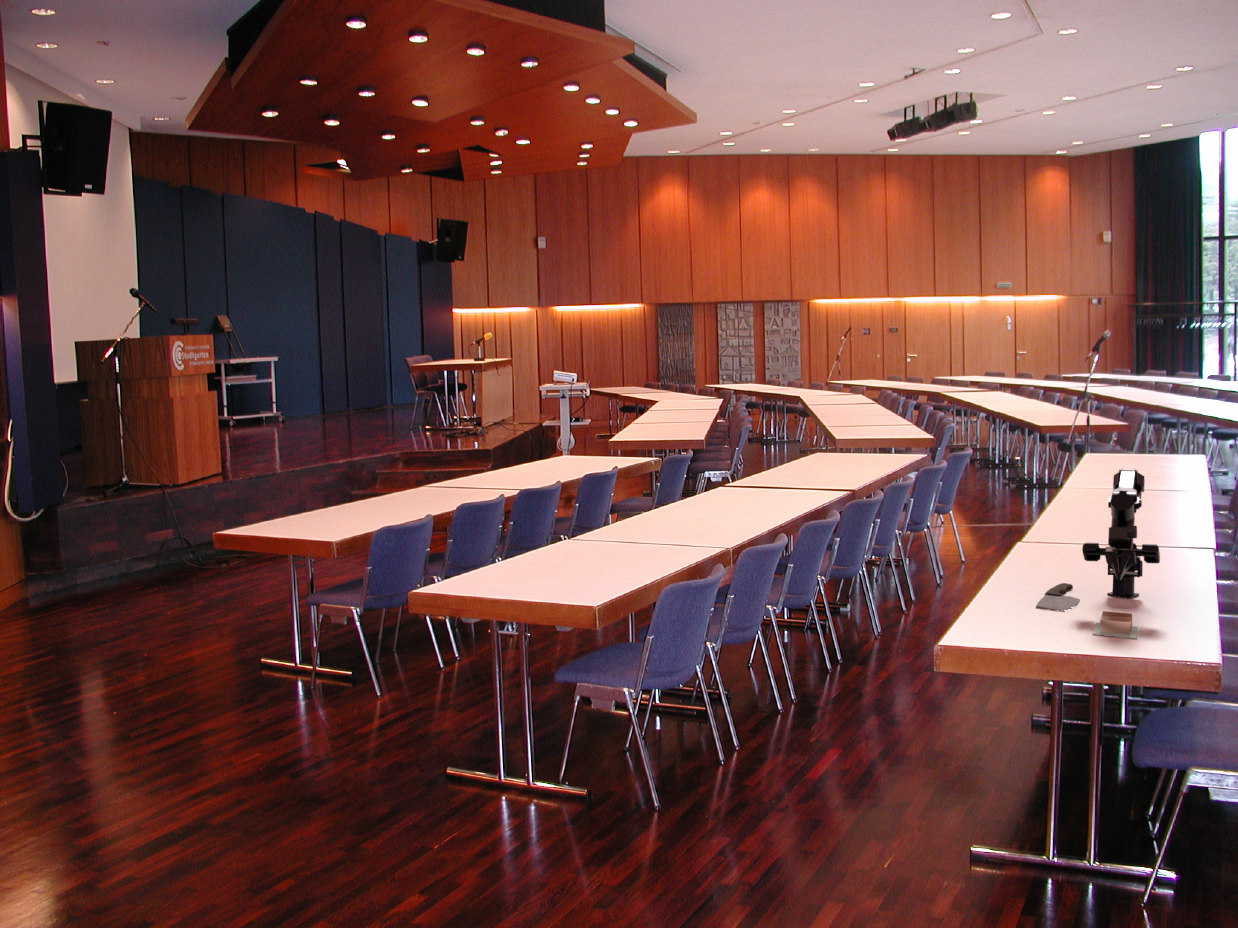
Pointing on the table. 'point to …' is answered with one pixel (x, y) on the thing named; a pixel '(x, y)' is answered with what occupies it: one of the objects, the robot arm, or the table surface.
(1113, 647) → the table surface
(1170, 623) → the table surface
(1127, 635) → the mat
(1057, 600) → the cleaver
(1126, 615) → the slab
